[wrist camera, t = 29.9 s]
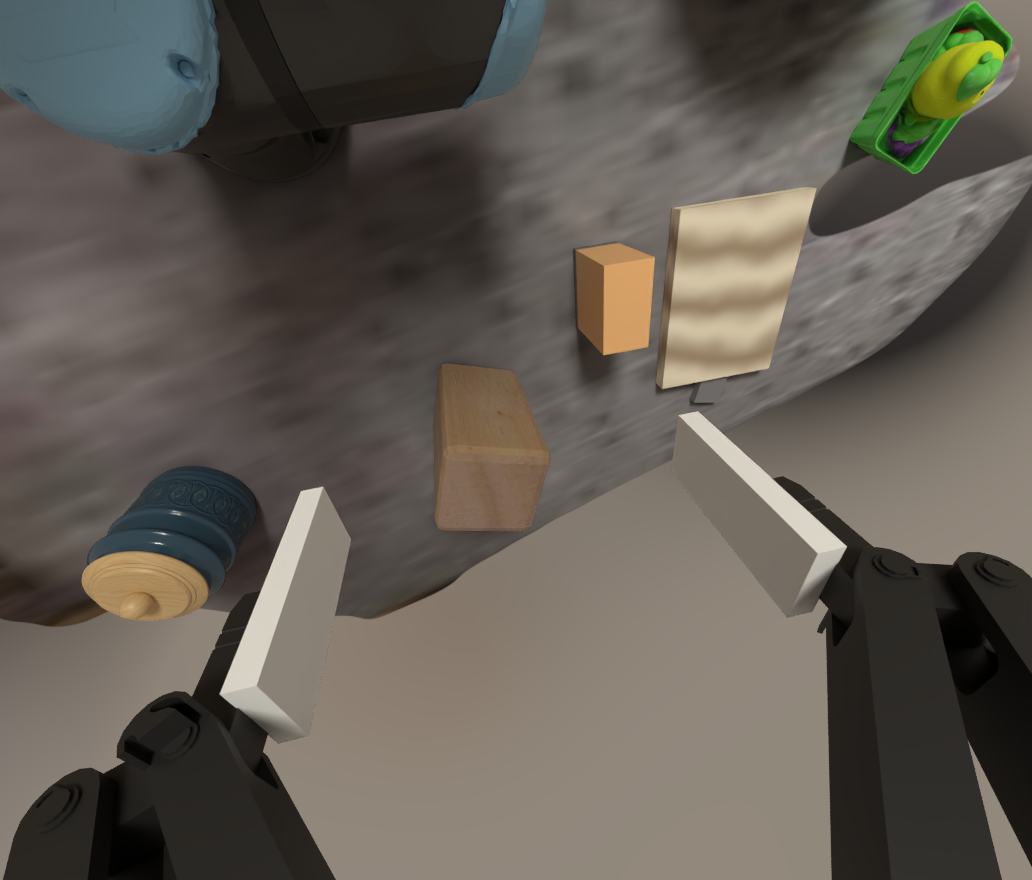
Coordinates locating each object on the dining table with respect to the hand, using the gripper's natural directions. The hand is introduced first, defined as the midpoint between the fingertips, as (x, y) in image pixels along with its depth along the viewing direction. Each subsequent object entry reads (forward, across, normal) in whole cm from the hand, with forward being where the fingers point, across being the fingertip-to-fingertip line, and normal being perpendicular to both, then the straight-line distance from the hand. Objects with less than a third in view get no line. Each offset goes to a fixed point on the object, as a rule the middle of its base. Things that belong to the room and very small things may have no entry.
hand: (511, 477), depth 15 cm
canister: (+37, -40, -24) cm, 59 cm away
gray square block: (+37, +33, -21) cm, 54 cm away
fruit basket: (+37, +49, +10) cm, 62 cm away
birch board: (+37, +33, -8) cm, 50 cm away
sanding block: (+37, +16, -4) cm, 40 cm away
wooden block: (+37, -1, -16) cm, 40 cm away
